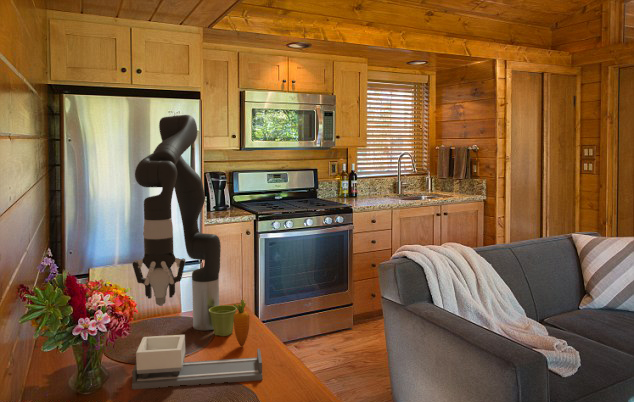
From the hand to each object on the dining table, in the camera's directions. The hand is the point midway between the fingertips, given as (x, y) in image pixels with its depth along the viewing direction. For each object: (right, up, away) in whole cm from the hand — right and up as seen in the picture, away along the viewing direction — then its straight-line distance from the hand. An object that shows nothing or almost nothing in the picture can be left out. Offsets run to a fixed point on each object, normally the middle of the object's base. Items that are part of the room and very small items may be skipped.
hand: (160, 297), depth 140 cm
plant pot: (+11, -19, +36) cm, 42 cm away
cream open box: (0, -21, +2) cm, 21 cm away
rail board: (+10, -22, +4) cm, 25 cm away
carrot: (+19, -21, +24) cm, 37 cm away
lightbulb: (0, -3, 0) cm, 3 cm away
